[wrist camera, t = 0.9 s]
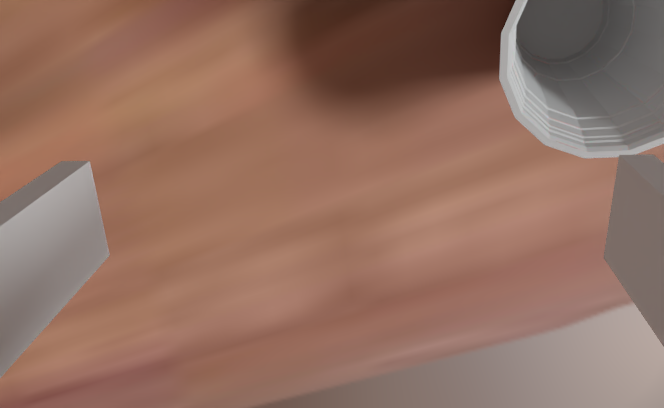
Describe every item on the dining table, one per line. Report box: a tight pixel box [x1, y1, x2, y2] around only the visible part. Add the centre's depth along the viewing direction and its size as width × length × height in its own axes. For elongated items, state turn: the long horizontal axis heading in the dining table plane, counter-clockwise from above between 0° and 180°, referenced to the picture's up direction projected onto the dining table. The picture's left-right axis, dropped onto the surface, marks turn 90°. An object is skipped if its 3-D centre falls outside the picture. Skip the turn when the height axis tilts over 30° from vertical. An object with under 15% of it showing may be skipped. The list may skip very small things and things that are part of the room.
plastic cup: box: [499, 0, 664, 158], centre depth 32 cm, size 11×11×12 cm
